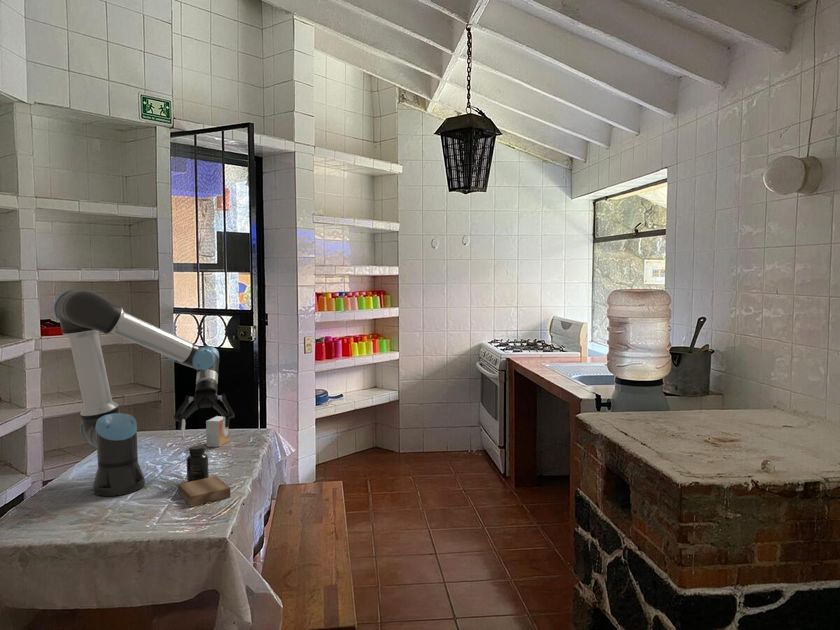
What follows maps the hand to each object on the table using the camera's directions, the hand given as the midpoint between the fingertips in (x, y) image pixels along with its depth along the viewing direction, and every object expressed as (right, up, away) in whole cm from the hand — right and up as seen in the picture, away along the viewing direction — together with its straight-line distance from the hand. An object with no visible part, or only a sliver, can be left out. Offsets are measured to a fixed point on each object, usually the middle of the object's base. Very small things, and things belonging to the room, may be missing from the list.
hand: (203, 436), depth 210 cm
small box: (-6, -10, +35) cm, 37 cm away
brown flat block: (+7, -15, -19) cm, 25 cm away
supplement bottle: (+1, -14, -8) cm, 16 cm away
